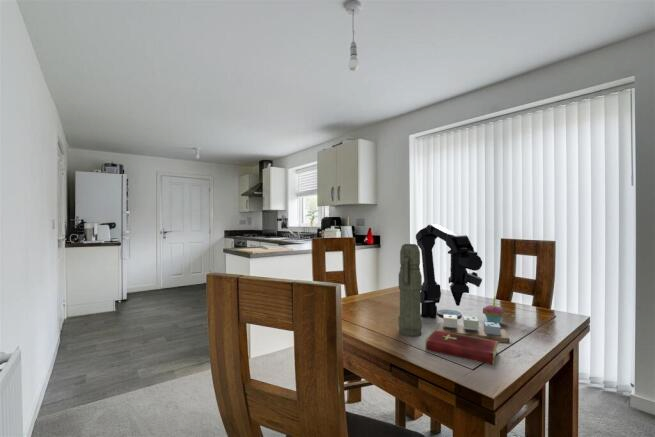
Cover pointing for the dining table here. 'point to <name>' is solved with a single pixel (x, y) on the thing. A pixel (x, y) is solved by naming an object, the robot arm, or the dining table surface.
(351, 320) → the dining table surface
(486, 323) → the tile three
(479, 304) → the dining table surface
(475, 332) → the wooden plank tray
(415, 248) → the moai stone figurine
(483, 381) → the dining table surface
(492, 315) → the cupcake
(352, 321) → the dining table surface
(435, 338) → the hardcover book
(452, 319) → the tile one
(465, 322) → the tile two
